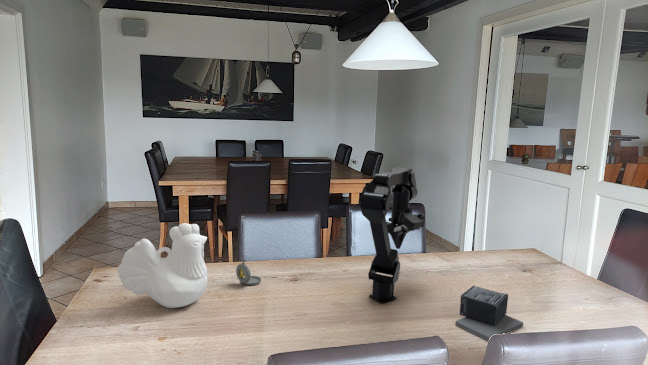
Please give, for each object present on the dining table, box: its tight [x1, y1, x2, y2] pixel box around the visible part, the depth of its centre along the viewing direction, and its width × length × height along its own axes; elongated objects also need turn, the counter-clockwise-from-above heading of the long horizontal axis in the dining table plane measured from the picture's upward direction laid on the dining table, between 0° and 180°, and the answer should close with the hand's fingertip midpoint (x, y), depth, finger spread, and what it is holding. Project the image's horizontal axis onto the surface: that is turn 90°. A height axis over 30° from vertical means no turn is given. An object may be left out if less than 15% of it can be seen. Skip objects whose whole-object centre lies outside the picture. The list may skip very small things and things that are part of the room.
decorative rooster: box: [116, 222, 209, 309], centre depth 131 cm, size 25×16×25 cm, turn 107°
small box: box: [459, 285, 509, 326], centre depth 128 cm, size 11×6×10 cm
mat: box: [454, 314, 524, 342], centre depth 124 cm, size 16×11×1 cm
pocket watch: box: [235, 256, 262, 286], centre depth 150 cm, size 8×8×10 cm
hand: (398, 248), depth 151 cm, fingers closed
